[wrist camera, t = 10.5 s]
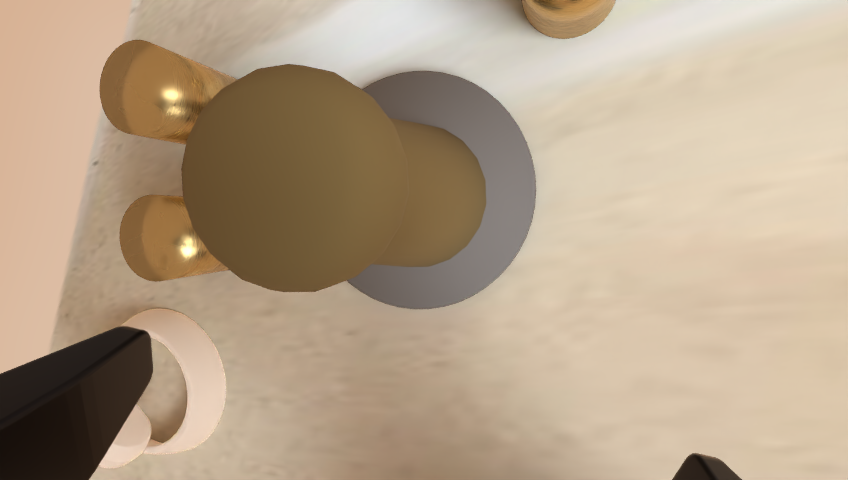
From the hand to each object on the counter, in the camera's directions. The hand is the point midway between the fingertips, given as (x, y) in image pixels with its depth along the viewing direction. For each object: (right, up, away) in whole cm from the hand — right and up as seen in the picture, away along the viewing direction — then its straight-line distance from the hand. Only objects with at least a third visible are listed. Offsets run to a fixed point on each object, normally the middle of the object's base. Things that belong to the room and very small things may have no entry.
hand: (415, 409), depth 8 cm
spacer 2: (-10, +3, +16) cm, 19 cm away
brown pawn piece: (0, +5, +13) cm, 13 cm away
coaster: (0, +5, +13) cm, 14 cm away
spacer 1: (-10, +9, +15) cm, 20 cm away
